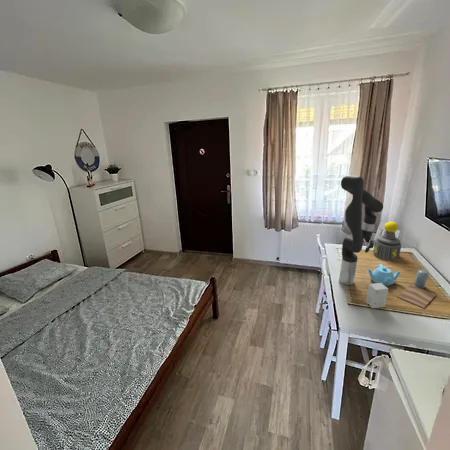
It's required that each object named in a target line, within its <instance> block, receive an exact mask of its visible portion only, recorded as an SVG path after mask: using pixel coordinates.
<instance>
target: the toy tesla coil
mask: <svg viewBox="0 0 450 450" xmlns="http://www.w3.org/2000/svg"><path fill="white" fill-rule="evenodd" d="M398 229H399V226H398V224H397V223H396V222H395V221H388V222H386V223H385V224H384V230H385V231H384V233H383V234H382V235H379V236H377V239H375V242H374V246H373V255H374V256H375V257H376V258H378V259H381V260H386V261H395V260H398V258H399V257H400V253H401V249H402V243H401V240H400V239H399V237H397V236H396V232H397V231H398Z"/></svg>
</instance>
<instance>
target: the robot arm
mask: <svg viewBox="0 0 450 450" xmlns="http://www.w3.org/2000/svg"><path fill="white" fill-rule="evenodd" d="M364 185H365V182H364V178H363V177H362V176H358V175H351V174H350V175H348V174H347V175H345V176H343V178H341V181H340V187H341V189H342V190H344V191H346V192H348V193H349V194H351V195H352V199H351V202H350V203H349V204H348V206H347V207H346V209H345V211H344V217H345V218H344V219H345V224H346V225H347V227H348V230H349V231H350V232H351V235H352V236H351V235H347V236H345V237H344V239H343V242H342V246H341V257H342V258H341V264H340V271H339V277H338V278H339V279H338V282H339V283H341V284H342V285H346V286H352V285H354V283H355V278H356V271H357V267H358V266H357V265H358V260H359V259H358V255H357V254H358V253H361V251H362V249H363V247H364V245H365V246H366V247H365V250H364V252H365V253H369V252H370V250H371V249H374V245H375V241H376V239H372V236H373V233H374V230H375V225H376V221H377V218H378V216H377V213H380V212H382V211H383V209H384V204H383V203H382V202H381V201H380V200H379V199H377V198H375V197H374V196H373V195H372V194H371V193H370V192H369V191H368V190H365V189H364ZM362 204H363V205H364V218H363V217H362V215H363V211H362V209H363V205H362ZM374 213H376V214H374ZM362 218H363V219H362ZM362 221H363V222H362ZM363 243H364V245H363Z"/></svg>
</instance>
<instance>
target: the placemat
mask: <svg viewBox="0 0 450 450" xmlns="http://www.w3.org/2000/svg"><path fill="white" fill-rule="evenodd" d="M436 296H437V294H435V293H433V292H430V291H428V290H425V289H420V288H417V287H415V286H414V285H411V284H409V285H408V286H407V287H406V288H405V289H404V290H403V291H402V292H401V293H399V294H398V295H397V296H396V297H397V298H398V299H400V300H402V301H405V302H406V303H410V304H411V305H412V304H413V305H414V304H415V306H417V307H419V306H420V307H419V308H421V307H422V309H426V307H427V306H428V305H429V302H430V303H431V302H432V300H433V299H434V298H436Z"/></svg>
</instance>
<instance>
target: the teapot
mask: <svg viewBox="0 0 450 450" xmlns="http://www.w3.org/2000/svg"><path fill="white" fill-rule="evenodd" d="M367 270H368V273H369V276H370V279H371V280H372V282H374V284H375V283H382V284H383V285H384V286H386V287H387V286H388V287H389V286H391V285H393V284H394V283H395V281H396V280H397V279H398V277H399V276H400V275H401V271H400V270H397V271H396V272H395V273H393V271H392V269H389V268H388V267H386V266H383V264H381V263H380V264H379V263H378V267H376V268H375V269H374V270H373V271H372V269H371V268H367Z"/></svg>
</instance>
